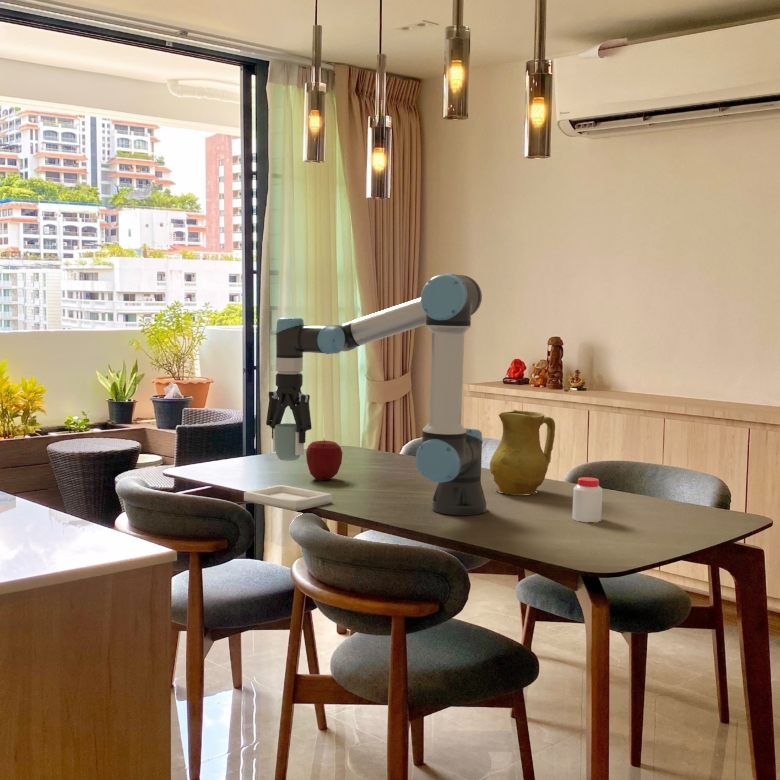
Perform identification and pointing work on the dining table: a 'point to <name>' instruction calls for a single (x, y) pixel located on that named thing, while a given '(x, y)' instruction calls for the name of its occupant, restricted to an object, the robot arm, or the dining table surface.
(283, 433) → the cup
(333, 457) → the apple
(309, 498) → the tray
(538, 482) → the pitcher
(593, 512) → the pill bottle
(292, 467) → the dining table surface
